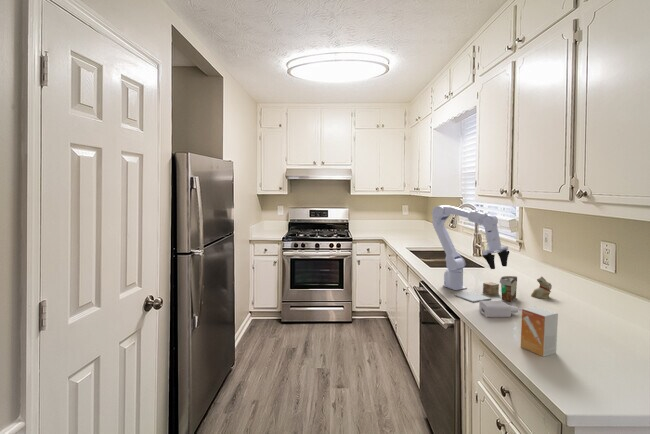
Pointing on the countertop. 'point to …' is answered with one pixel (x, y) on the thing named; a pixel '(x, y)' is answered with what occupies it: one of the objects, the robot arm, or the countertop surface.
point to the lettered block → (490, 288)
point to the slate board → (472, 297)
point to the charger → (496, 309)
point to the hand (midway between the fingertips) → (498, 267)
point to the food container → (508, 288)
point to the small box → (539, 331)
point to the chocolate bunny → (542, 289)
